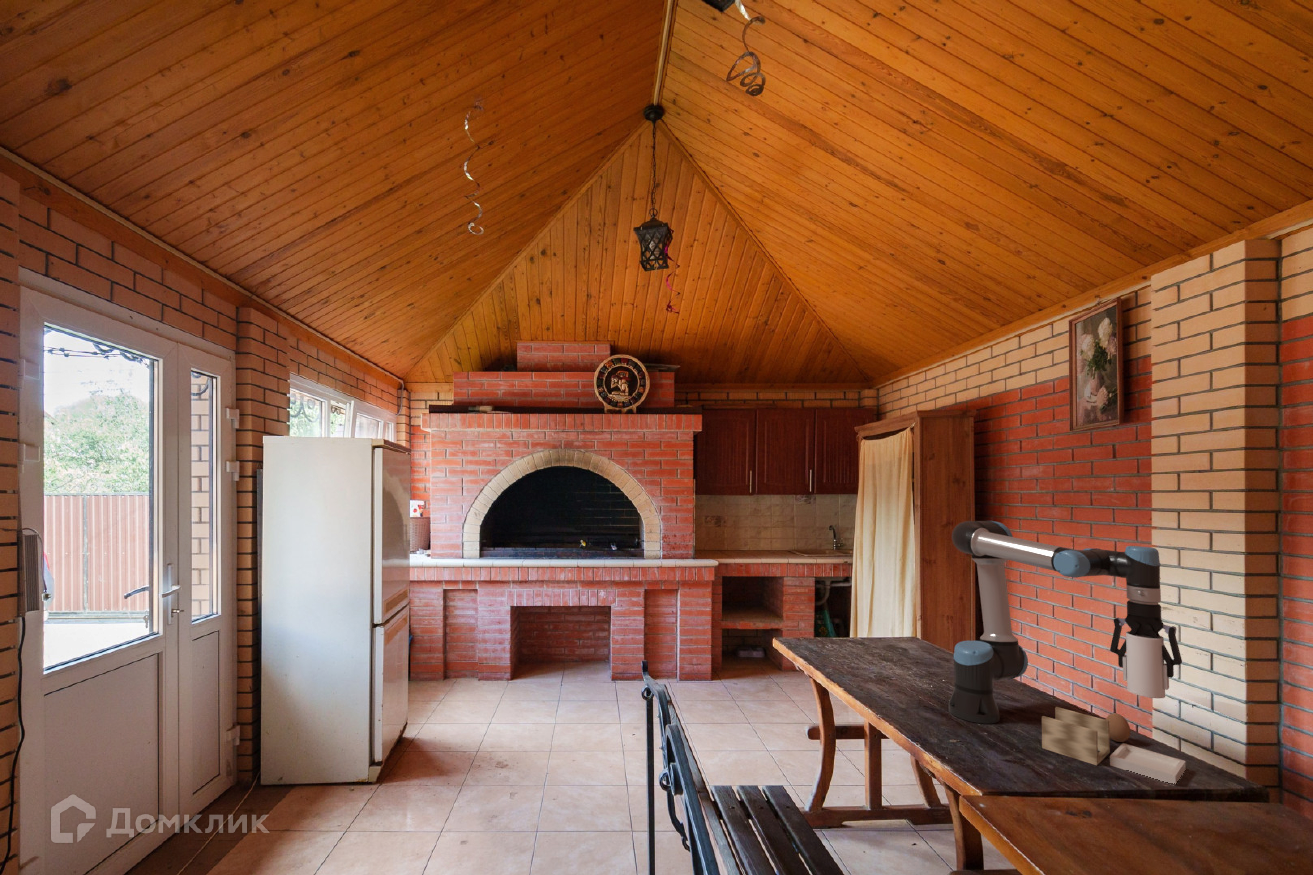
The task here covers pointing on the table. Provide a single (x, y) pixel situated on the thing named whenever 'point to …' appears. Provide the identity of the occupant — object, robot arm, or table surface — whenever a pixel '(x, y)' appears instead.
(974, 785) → the table surface
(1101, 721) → the holder
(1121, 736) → the egg
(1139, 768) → the tray
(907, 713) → the table surface
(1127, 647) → the cup
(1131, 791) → the table surface
